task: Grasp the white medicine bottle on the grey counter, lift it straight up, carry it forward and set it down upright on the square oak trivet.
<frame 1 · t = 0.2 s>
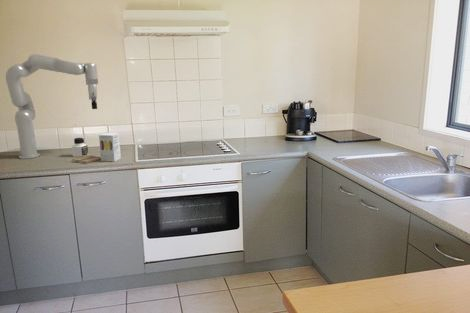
hand: (94, 108, 275), 30 cm above the worktop, tool pointing down, fingers open, 9 cm apart
medicine bottle: (80, 156, 274), on the worktop
oak trivet: (86, 160, 260), on the worktop
supplement box: (111, 160, 261), on the worktop
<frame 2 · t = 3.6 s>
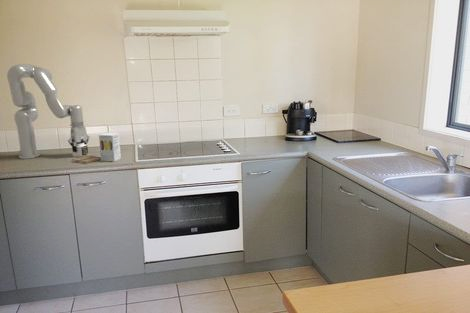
hand: (80, 150, 273), 4 cm above the worktop, tool pointing down, fingers closed on medicine bottle, 8 cm apart
medicine bottle: (80, 156, 274), on the worktop, touching gripper
everything else where it was.
when the fingers open (6 cm above the worktop, at t = 10.3 s): medicine bottle stays where it is, resting on oak trivet.
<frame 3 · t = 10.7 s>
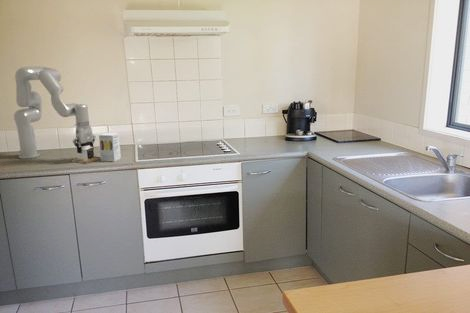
hand: (85, 151, 259), 6 cm above the worktop, tool pointing down, fingers open, 9 cm apart
medicine bottle: (86, 159, 260), point 1 cm above the worktop, touching oak trivet
everything else where it was.
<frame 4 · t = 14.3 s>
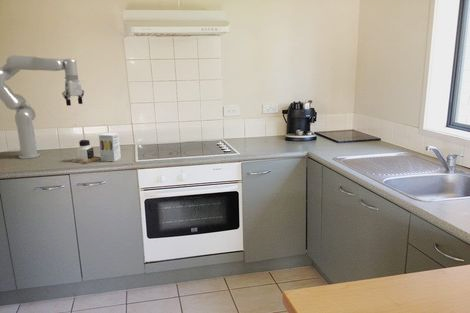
hand: (74, 104, 271), 33 cm above the worktop, tool pointing down, fingers open, 9 cm apart
nothing on the worktop moved.
at the end: medicine bottle inside the target area on the oak trivet (0.2 cm from its centre), point 1.0 cm above the oak trivet's base; medicine bottle tilted 0°; the gripper is holding nothing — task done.
